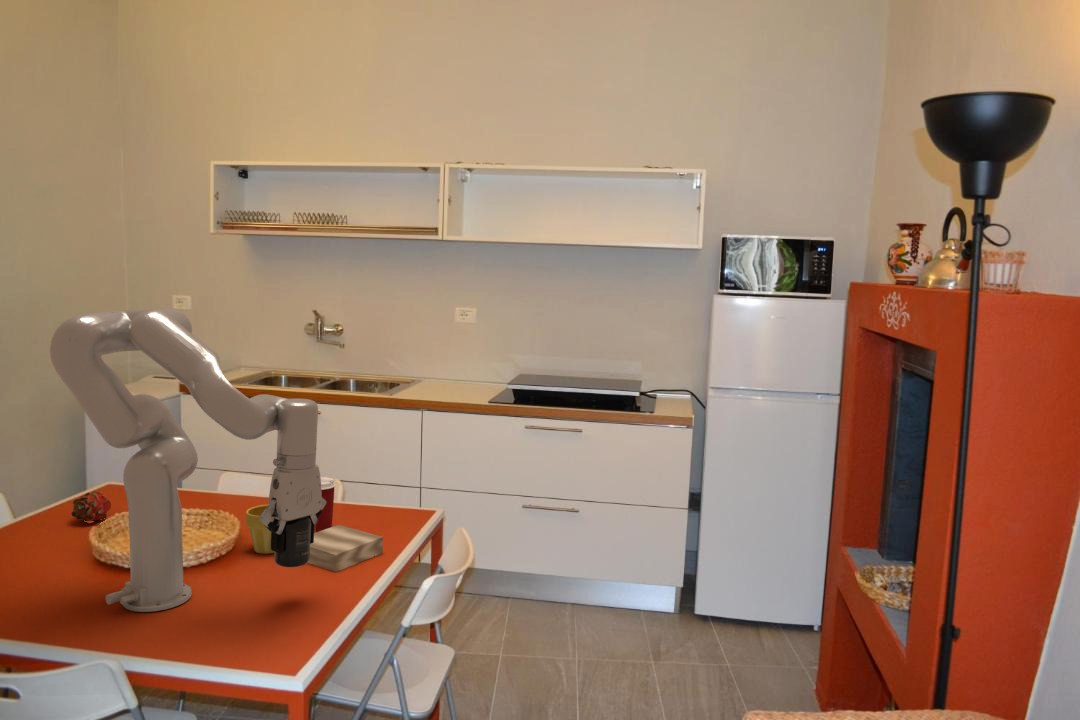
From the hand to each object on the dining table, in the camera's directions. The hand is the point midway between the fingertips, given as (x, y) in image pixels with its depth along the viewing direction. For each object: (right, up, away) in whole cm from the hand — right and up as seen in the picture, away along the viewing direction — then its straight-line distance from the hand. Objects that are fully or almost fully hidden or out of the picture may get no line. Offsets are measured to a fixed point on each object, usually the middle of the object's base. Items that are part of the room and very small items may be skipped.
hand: (292, 545), depth 156 cm
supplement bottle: (0, -3, 0) cm, 4 cm away
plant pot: (-15, -8, +30) cm, 35 cm away
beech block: (+2, -9, +28) cm, 29 cm away
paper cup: (-7, -7, +42) cm, 43 cm away
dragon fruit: (-68, -5, +46) cm, 82 cm away
